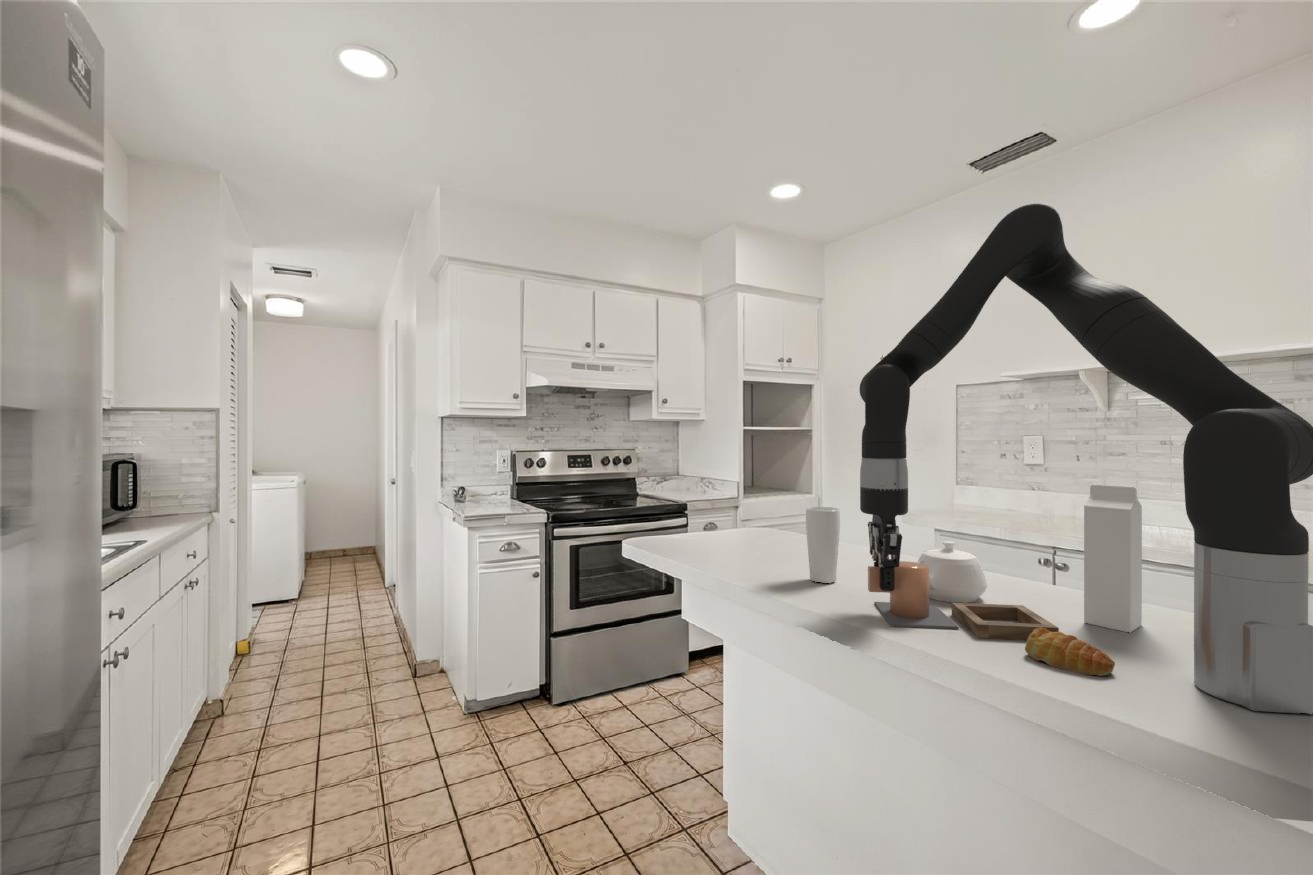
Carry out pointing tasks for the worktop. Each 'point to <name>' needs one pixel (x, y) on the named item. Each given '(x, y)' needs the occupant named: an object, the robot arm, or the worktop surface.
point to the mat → (933, 621)
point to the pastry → (1067, 653)
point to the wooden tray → (975, 613)
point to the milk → (1113, 558)
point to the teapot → (953, 574)
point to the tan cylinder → (905, 589)
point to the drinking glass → (823, 542)
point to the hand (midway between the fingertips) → (883, 586)
